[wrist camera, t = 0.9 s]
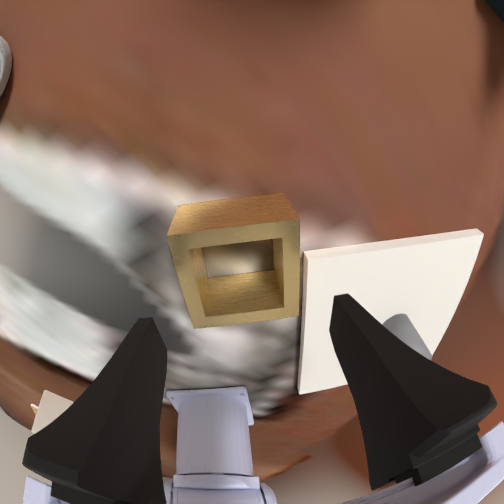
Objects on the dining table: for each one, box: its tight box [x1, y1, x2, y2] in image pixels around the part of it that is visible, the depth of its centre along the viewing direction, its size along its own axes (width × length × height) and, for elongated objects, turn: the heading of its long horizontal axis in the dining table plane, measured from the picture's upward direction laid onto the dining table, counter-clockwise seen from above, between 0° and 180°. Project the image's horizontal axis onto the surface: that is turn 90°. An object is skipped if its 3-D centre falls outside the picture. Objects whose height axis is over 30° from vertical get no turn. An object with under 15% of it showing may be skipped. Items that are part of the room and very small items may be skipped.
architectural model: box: [31, 390, 74, 434], centre depth 23 cm, size 3×7×7 cm, turn 65°
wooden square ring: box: [167, 193, 300, 328], centre depth 15 cm, size 6×6×4 cm
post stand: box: [297, 228, 484, 394], centre depth 19 cm, size 16×16×6 cm
